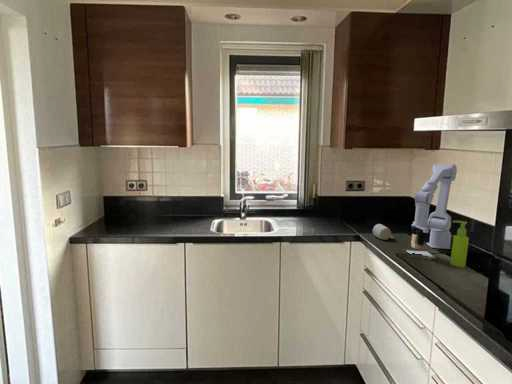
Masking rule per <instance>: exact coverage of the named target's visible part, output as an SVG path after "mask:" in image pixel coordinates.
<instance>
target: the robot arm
mask: <svg viewBox="0 0 512 384" xmlns="http://www.w3.org/2000/svg"><path fill="white" fill-rule="evenodd" d="M431 171H432V176H431V177H430V179H429V180H427V181H426V182H425V183H424V184H423V186H422V187H421V189H420V190H418V191H417V192H415V195H414V206H415V213H414V214H415V215H414V221H412V224H411V227H410V229H411V231H412V234H417V236H418V245H422V246H423V244H424V242H425V244H426V245H427V246H429V247H430V248H432V249H443V250H444V249H445V250H448V249H449V250H452V247H451V242H452V233H451V232H450V230H451V227H452V216H451V215H449V213H447V209H448V202H449V197H450V190H451V186H452V182H453V181H455V180H456V177H457V172H458V169H457V165H456V164H455V163H453V164H451V163H438V162H435V163H434V164H433V166H432V170H431ZM439 182H440V183H439ZM438 184H439V190H438V194H437V195H438V196H437V201H436V208H435V211H433V212H431V213H430V205H431V204H432V202H433V200H434V199H433V198H434V196H435V195H434V194H435V193H436V191H437V189H438ZM429 213H430V214H429ZM427 237H429V241H428V242H426V240H427Z"/></svg>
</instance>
